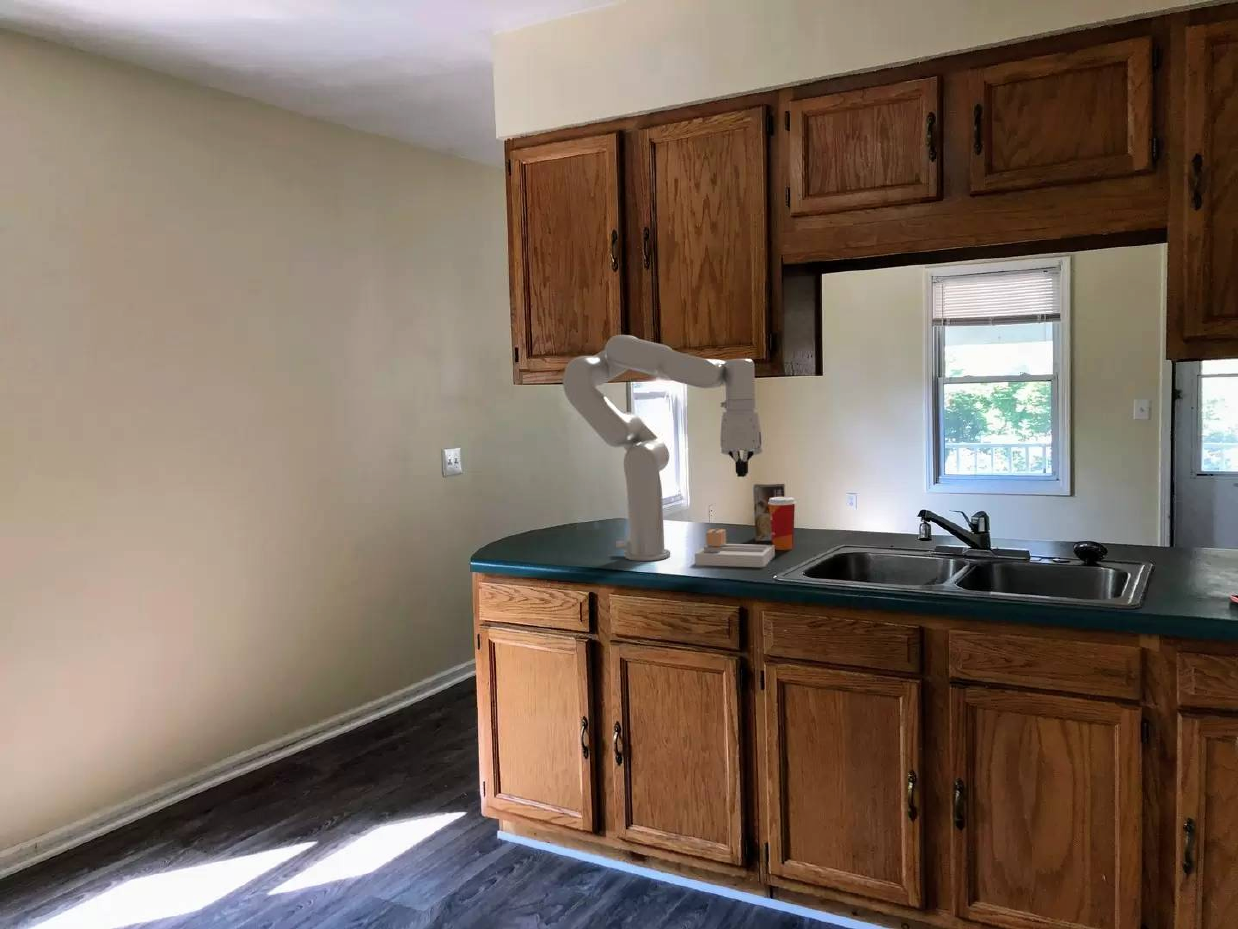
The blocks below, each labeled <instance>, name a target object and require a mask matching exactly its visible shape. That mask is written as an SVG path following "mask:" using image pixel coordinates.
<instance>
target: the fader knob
mask: <svg viewBox="0 0 1238 929" xmlns="http://www.w3.org/2000/svg"><path fill="white" fill-rule="evenodd" d="M726 530H727V529H723V528H722V529H720V527H717V528H715V529H714V528H711V529H710V530H708V531H706V532H705V534H706V535H705V536H706V537H705V538H706V545H707V546H714V547H719V546H723V545H724V544H727V531H726Z"/></svg>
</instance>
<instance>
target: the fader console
mask: <svg viewBox="0 0 1238 929" xmlns="http://www.w3.org/2000/svg"><path fill="white" fill-rule="evenodd" d="M774 557H776V552H775V545H773V544H751V543H750V544H748V543H747V544H743V543H725V544H724V545H723V546H719V547H714V546H707V544H706V545H705V546H703V547H702V548H701V549H699V550H698V551H696V552H695V553H694V561H695V562H694V563H695V564H694V565H696V566H716V567H739V568H740V567H745V568H746V567H747V568H749V567H750V568H765V567H766V566H767V565H768V564H769V563H770V562H771V561H772V560H773V559H774Z"/></svg>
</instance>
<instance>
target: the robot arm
mask: <svg viewBox="0 0 1238 929" xmlns="http://www.w3.org/2000/svg"><path fill="white" fill-rule="evenodd" d="M628 370H632V371H636V372H640V373H644V374H647V375H652V376H655V377H657V378H661V379H667V380H670V381H673V382H675V383H676V382H677V383H680V384H682V385H683V384H684V385H687V386H691V387H695V388H700V389H714V388H719V387H724V386H725V401H723V402H721V403H720V408H723V409H725V411H724V412H722V416H721V424H720V436H719V437H720V443H719V444H720V448H721V451H720V453H721V454H723V455H727V456H730V458H732V460H733V461H734V462H735V464H734V465H735V466H734V467H735V473H736V474H737V477H738V478H744V477H747V474H749V461H750V459H751V458H752V457H753V456H756V455H759V454H762V453H763V450H762V429H761V423H760V422H761V421H760V417H759V412H758V411H756V386H755V385H756V384H755V379H756V378H755V363H754V361H753V360H752V359H751V358H732V359H728V360H727V359H726V360H725V359H717V358H702V357H699V356H694V355H689V354H687V353H682V352H679V351H678V350H677V351H676V350H674V349H672V348H671V347H670V346H668V345H665V344H662V343H657V342H653V341H648V340H645V339H640V338H638V337H637V336H634V335H630V334H628V335H627V334H617V335H614V336H612V337H611V338H609V339H608V340H607V342H606V344H605V347H604V349H602V350H601V351H599V352H598V353H596V354H595V355H581V356H577V357H574V358H573V359H571V360H570V361H569V362H568V363H567V365H566V366H565V370H564V371H563V375H562V386H563V391H564V395H565V396H566V399H567V401H569V403H570V404H571V405H572V407H573V408H574V409H575V410H576V412H578V413H579V415H581V417H582V418H583V419H584V420H585V421H586V423H587V424H589V426H590V427H591V428H592V429H593V430H594V432H596V433H597V434H598V435H599V437H600V438H601V439H602V440H603V441H604V442H605V443H606V444H607V445H608V446H610V447H611V448H616V449H619V448H623V449H624V450H625V451H626V452H625V453H624V457H623V471H624V475H625V476H624V478H625V483H626V492H627V493H626V494H627V509H628V510H627V511H628V512H627V513H628V532H629V533H628V534H629V539H628V540H626V541H624V540H623V541H622V540H620V541H619V540H617V541H616V543H615V544H616V545H615V546H616V548H617V549H620V550H626V552H624V558H625V559H626V560H630V561H641V562H644V561H645V562H648V561H649V562H651V561H658V560H663V559H664V560H665V559H668V558H669V557H670V556H671V550H669V549H666V548H665V533H664V532H665V530H664V527H665V525H664V508H663V507H664V506H663V503H664V502H663V487H662V481H661V476H660V472H661V471H663V470H664V469H665V468H667V466H668V464H669V460H670V452H669V448H667V445H666V444H665V443H664V441H663V440H662V439H661V438H660V437H659V436H658V435H657V434H656V433H655V432H654V431H653V430H652V429H651V428H650V427H649V425H648V424H647V423H646V422H645V420H642V418H641V417H639V416H638V415H637V414H636V413H633V412H629V411H621V410H619V409H618V408H617V407H616V406H615V405H614V404H613V403H612V402H611V401H610V400H609V398H608V397H607V396H606V395H605V394H603V393H602V392H601V390H598V388H597V386H601V385H603V384H606V383H608V382H610V381H611V380H613V379H615V378H616V377H618V376H620V375H622V374H624V373H625V372H627V371H628ZM741 451H742V452H743V453H742V456H741Z"/></svg>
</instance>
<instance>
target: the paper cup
mask: <svg viewBox="0 0 1238 929" xmlns="http://www.w3.org/2000/svg"><path fill="white" fill-rule="evenodd" d="M768 504H769V511H770V523H771V534H772V541H771V542H772V544H771V545H775V550H778V551H788V550H789V551H790V550H792V549H793V548H794V540H795V538H794V536H795V532H794V531H795V510H796V509H795V507H796V506H795V505H796V504H797V501H795V497H791V496H790V497H789V496H785V497H773V498H770V499H769V502H768Z"/></svg>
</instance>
